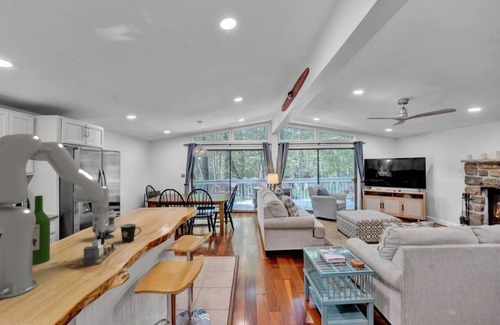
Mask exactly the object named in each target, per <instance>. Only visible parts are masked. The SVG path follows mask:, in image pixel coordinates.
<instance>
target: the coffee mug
mask: <svg viewBox="0 0 500 325" xmlns="http://www.w3.org/2000/svg"><path fill="white" fill-rule="evenodd" d="M136 226H137V224H136V223H125V224H121V225H120V232H121V240H122V243H123V244H128V243H132V242H134V241H135V237H136V236H139V234H140V233H141V231H142V229H141V228H140V227H138V226H137V227H136ZM137 229H138V230H139V232H138V233H136V230H137ZM135 233H136V234H135Z"/></svg>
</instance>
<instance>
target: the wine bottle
mask: <svg viewBox="0 0 500 325" xmlns="http://www.w3.org/2000/svg"><path fill="white" fill-rule="evenodd" d="M43 202H44V196H43V195H34V211H33V212H34V214H35V216H36V223H35V227H34V231H33V245H32V246H33V254H32V266H34V265H35V266H36V265H40V264H43V263H47V262H49V260H50V257H51V251H50V250H51V220H50V217H49V216H48V215H47V214H46V213H45V211H44V204H43Z"/></svg>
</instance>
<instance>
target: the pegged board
mask: <svg viewBox="0 0 500 325" xmlns="http://www.w3.org/2000/svg"><path fill="white" fill-rule="evenodd" d="M109 243H110V241H109V240H107V241H105V243H104V244H103V254H102V255H101V256H100V257H98V246H92V245H90V246H86V247H84V248H83V260H82V261H80V262H78V263H79V266H80V267H81V266H83V267H84V266H95V265H101V264H102V263H103V262H104V261H105V260H106V259H107V258H108V257H110V255H112V253H114V252H115V251H116V250H117V246H115V243H111V244H110V245H111V246H108V244H109ZM106 246H107V247H106Z"/></svg>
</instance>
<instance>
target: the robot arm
mask: <svg viewBox="0 0 500 325" xmlns="http://www.w3.org/2000/svg"><path fill="white" fill-rule="evenodd" d="M29 160H31V161H36V162H38V161H39V162H47V163H48V164H49V166H51V168H52V169H53V170H54V172H55V173H56V174H57V176H58V177H59V178H60V179H62V180H64V181H65V182H69V183H72V184H74V185H76V186H78V188H77V189H75V190H74V191H73V193H72V197H73V200H75V202H78V203H88V204H89V203H91V214H92V226H91V228H92V230H91V231H92V233H93V234H94V236H95V237H96V239H101V245H103V244H104V243H105V242H106V239H105V231H106V230H107V229H108V228H109V214H108V212H109V208H110V207H109V202H110V201H109V200H110V199H109V197H110V196H109V187H108V186H106V185H101V184H100V182H98V180H97V179H96V178H94V177H93V176H92V175H91V174H89V173H88V172H87V171H86V170H83V169H82V168H81V166H79V165H78V163H77V162H76V160H75V159H74V158H73V156H72V155H71V153H69V151H68V149H67V148H66V147H65V145H63V144H62V143H61V142H57V141H42V140H41V139H40V137H39V136H37V135H35V134H32V133H16V134H15V133H14V134H5V135H2V136H1V137H0V232H2V233H1V235H0V299H8V298H12V297H16V296H20V295H22V294H26V293H28V292H30V291H32V290H33V289H35V288H36V287H37V286H38V280H36V279H33V265H32V254H33V246H32V245H33V231H34V227H35V223H36V216H35V214H34V211H33V210H32V209H30V208H28V207H24V206H15V205H16V204H17V205H18V204H20V203H23V202H25V200H27V198H28V196H29V186H28V178H27V164H28V161H29Z"/></svg>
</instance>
